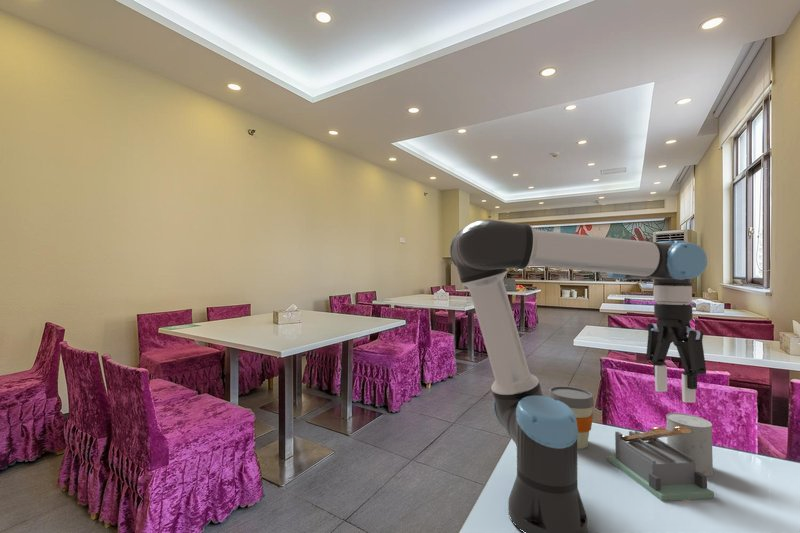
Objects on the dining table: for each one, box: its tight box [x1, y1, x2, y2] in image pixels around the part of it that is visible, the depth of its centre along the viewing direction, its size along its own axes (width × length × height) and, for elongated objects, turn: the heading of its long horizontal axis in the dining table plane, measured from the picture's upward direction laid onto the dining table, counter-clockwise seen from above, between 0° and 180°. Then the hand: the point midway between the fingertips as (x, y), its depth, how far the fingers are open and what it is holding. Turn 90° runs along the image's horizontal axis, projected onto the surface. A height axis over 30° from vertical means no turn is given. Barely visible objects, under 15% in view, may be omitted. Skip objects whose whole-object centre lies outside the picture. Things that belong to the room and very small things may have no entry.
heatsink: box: [607, 430, 715, 502], centre depth 89 cm, size 13×18×8 cm
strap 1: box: [623, 426, 669, 442], centre depth 90 cm, size 3×15×2 cm
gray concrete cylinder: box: [665, 412, 714, 477], centre depth 94 cm, size 10×10×12 cm
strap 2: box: [642, 426, 691, 442], centre depth 90 cm, size 3×15×2 cm
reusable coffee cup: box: [548, 385, 595, 450], centre depth 108 cm, size 13×13×15 cm
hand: (674, 396), depth 87 cm, fingers open, 7 cm apart
